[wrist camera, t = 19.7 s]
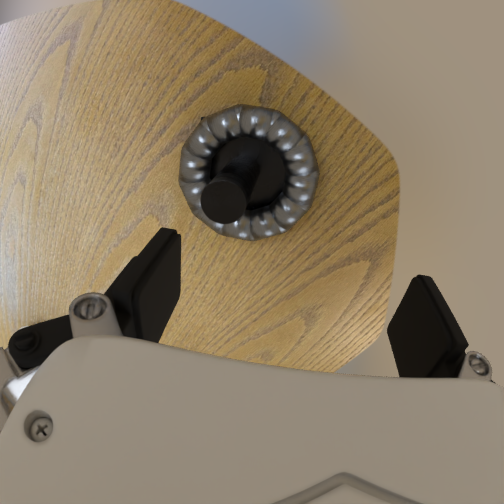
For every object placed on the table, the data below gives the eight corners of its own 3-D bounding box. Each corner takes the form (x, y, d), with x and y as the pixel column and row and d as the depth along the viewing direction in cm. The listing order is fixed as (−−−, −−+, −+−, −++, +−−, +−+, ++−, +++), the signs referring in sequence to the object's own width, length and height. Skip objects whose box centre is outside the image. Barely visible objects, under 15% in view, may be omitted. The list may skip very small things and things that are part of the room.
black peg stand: (204, 116, 25) (161, 126, 17) (300, 130, 25) (307, 145, 16) (196, 203, 30) (157, 251, 21) (283, 219, 30) (279, 274, 21)
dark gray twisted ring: (193, 97, 24) (183, 97, 21) (329, 121, 23) (334, 123, 21) (180, 219, 30) (171, 230, 27) (299, 243, 29) (300, 256, 27)
